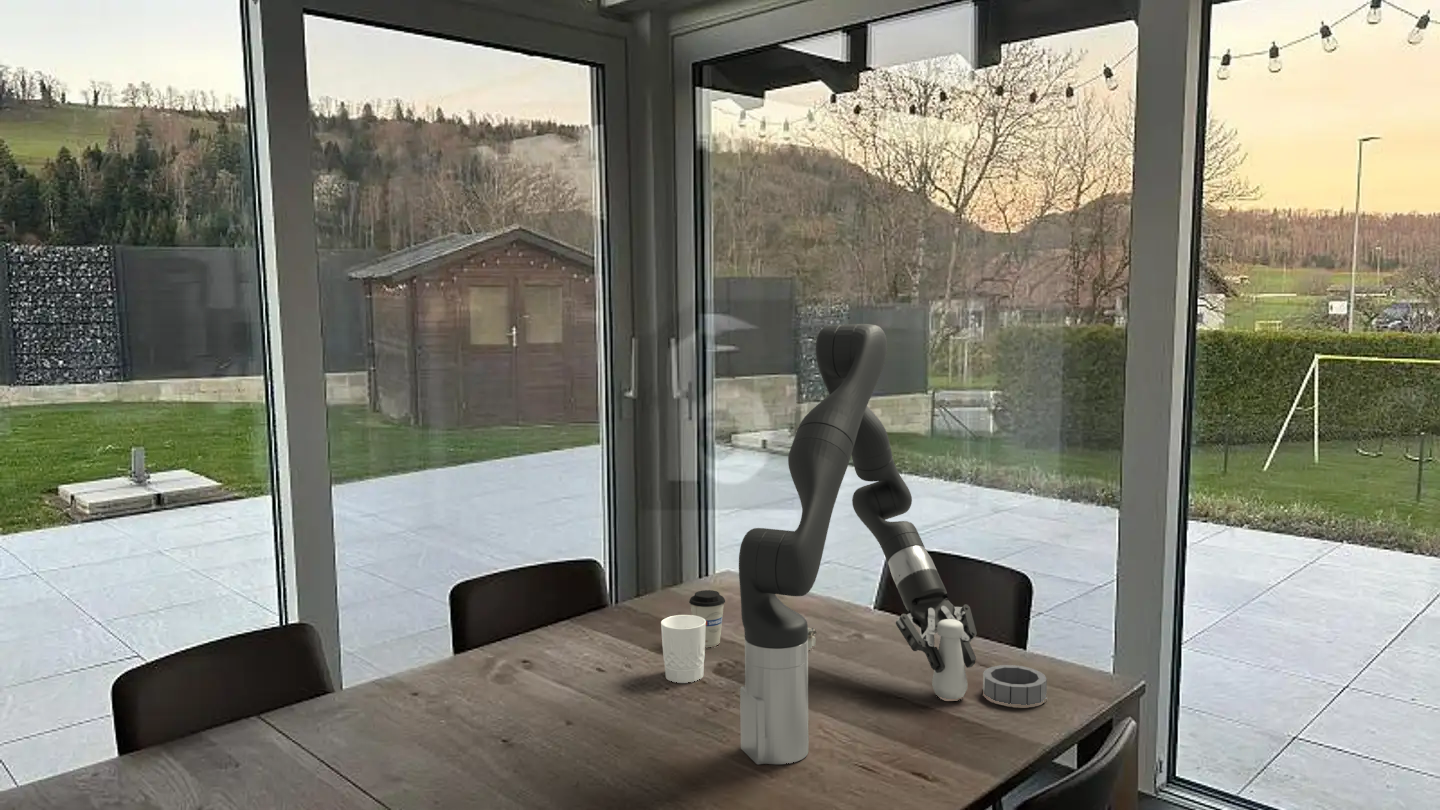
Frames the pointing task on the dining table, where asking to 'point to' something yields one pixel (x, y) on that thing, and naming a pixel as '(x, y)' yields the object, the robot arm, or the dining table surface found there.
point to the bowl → (1014, 684)
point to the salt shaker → (950, 661)
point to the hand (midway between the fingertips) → (956, 667)
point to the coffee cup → (709, 613)
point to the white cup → (683, 647)
